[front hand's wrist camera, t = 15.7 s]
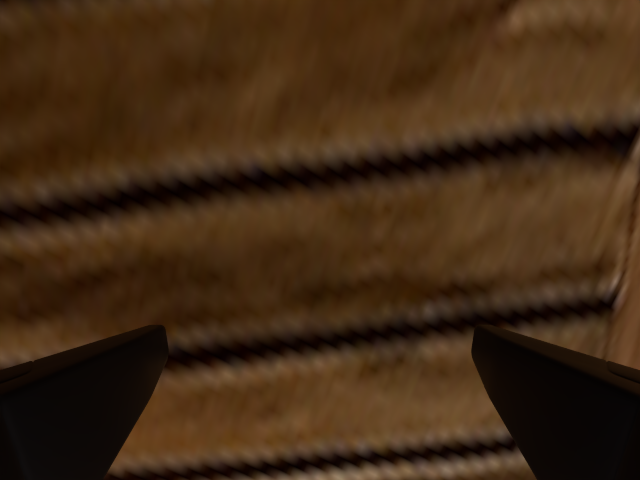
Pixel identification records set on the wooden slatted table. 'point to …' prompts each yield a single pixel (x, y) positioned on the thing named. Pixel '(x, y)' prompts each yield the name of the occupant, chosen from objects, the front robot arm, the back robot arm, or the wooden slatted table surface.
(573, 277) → the wooden slatted table surface
